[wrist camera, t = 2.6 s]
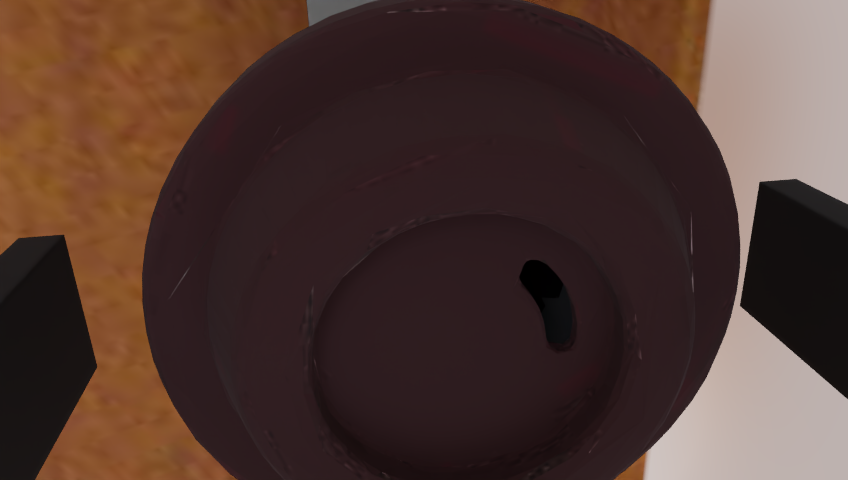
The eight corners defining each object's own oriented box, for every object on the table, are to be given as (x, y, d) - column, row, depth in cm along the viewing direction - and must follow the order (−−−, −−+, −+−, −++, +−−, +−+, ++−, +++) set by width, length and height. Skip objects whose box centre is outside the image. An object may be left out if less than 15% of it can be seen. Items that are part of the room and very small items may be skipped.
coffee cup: (233, 242, 25) (108, 613, 11) (254, -59, 21) (105, -64, 7) (503, 269, 26) (687, 621, 13) (565, -5, 23) (915, 73, 9)
